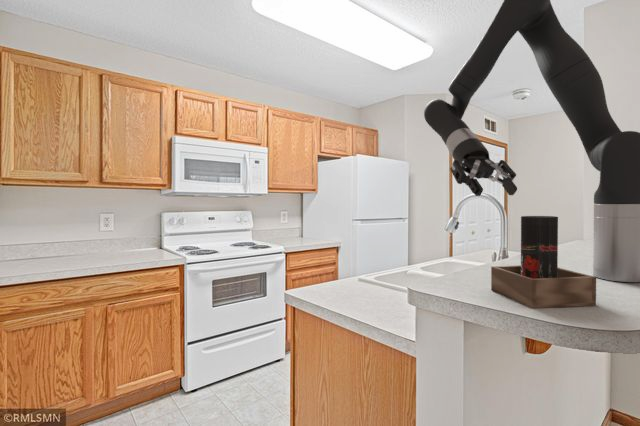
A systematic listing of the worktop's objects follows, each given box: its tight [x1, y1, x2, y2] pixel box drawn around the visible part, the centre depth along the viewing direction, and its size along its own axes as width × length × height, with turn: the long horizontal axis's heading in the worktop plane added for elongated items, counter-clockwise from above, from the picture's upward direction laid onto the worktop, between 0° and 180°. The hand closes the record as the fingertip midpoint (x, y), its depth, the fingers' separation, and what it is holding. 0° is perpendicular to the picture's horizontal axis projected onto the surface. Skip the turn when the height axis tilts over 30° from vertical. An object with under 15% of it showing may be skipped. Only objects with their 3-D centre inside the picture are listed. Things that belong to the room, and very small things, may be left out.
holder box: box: [490, 264, 597, 309], centre depth 66 cm, size 12×12×5 cm
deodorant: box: [520, 215, 559, 279], centre depth 66 cm, size 6×6×15 cm
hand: (497, 193), depth 77 cm, fingers open, 8 cm apart
